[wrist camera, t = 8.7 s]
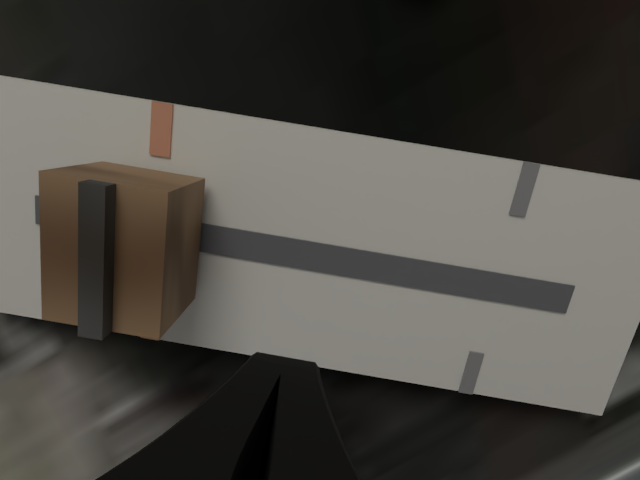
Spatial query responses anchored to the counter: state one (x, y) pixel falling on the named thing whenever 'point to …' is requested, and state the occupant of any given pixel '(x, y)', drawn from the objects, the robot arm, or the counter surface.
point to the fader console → (357, 245)
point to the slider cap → (118, 247)
